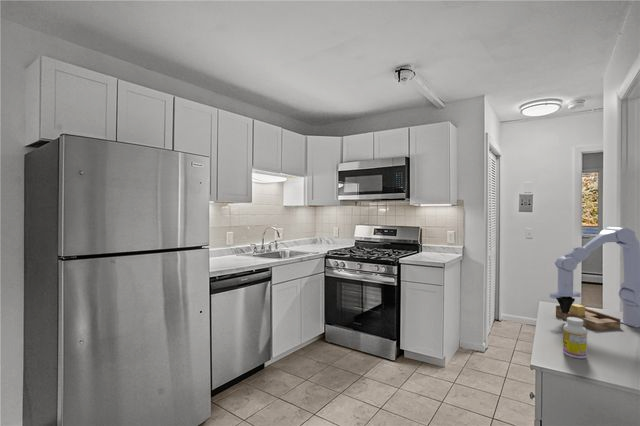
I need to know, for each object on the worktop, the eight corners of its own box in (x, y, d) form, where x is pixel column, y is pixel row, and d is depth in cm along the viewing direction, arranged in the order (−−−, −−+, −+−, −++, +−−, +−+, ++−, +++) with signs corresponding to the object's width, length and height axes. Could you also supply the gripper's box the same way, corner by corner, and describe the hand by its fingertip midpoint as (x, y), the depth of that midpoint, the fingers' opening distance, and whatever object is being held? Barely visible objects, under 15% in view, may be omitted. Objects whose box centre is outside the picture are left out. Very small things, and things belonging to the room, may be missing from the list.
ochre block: (576, 312, 155) (576, 303, 155) (584, 315, 151) (585, 306, 151) (569, 312, 154) (569, 304, 154) (577, 315, 150) (577, 306, 150)
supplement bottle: (563, 349, 122) (564, 314, 122) (586, 354, 118) (587, 318, 118) (562, 355, 117) (562, 319, 117) (586, 361, 113) (586, 323, 113)
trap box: (578, 314, 162) (578, 303, 161) (620, 328, 143) (620, 316, 143) (555, 315, 159) (555, 305, 159) (595, 330, 141) (595, 318, 140)
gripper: (559, 286, 146) (559, 316, 146) (587, 284, 148) (586, 314, 149) (546, 282, 153) (545, 311, 153) (572, 281, 155) (572, 310, 156)
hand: (565, 313), depth 151 cm, fingers closed
